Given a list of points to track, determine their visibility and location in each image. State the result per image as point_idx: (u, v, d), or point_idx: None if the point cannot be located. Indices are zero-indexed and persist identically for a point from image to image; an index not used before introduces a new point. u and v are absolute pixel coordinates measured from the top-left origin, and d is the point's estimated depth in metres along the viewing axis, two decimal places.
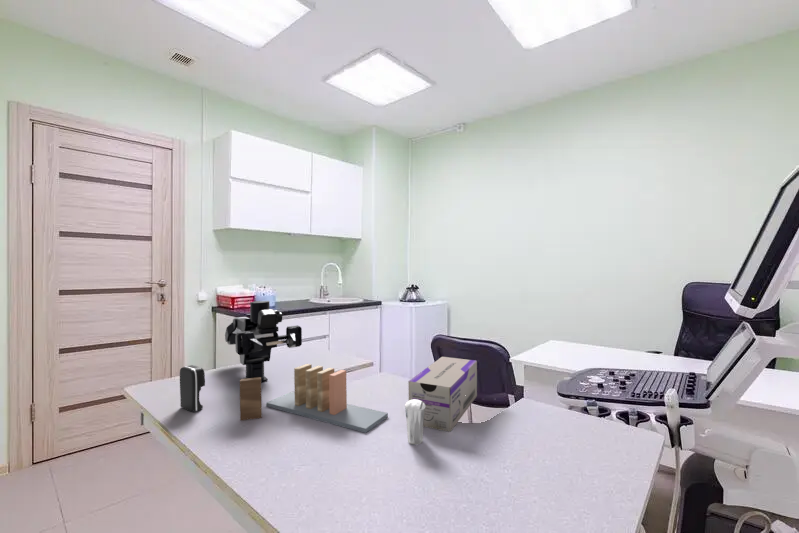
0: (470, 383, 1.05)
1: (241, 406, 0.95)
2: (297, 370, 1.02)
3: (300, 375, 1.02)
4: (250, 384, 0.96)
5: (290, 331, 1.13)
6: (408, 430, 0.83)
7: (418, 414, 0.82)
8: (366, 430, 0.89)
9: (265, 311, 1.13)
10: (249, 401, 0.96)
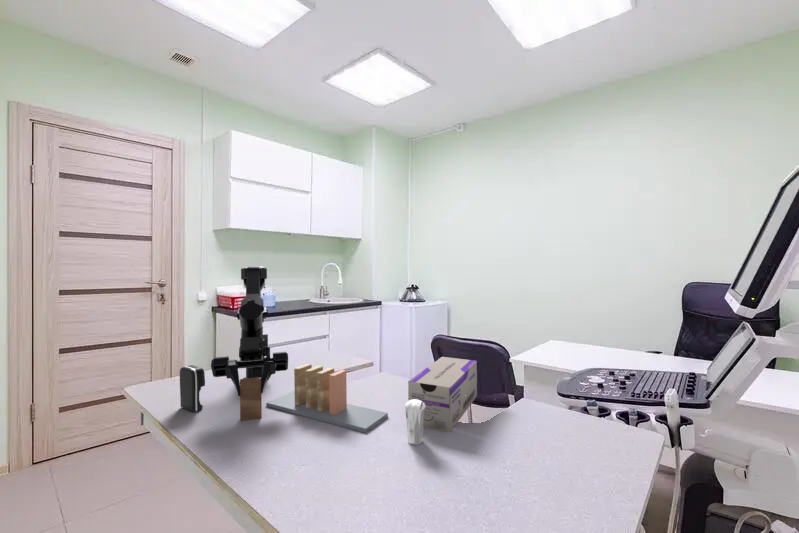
0: (470, 383, 1.05)
1: (241, 406, 0.95)
2: (297, 370, 1.02)
3: (300, 375, 1.02)
4: (250, 384, 0.96)
5: (264, 367, 0.99)
6: (408, 430, 0.83)
7: (418, 414, 0.82)
8: (366, 430, 0.89)
9: (246, 342, 0.96)
10: (249, 401, 0.96)
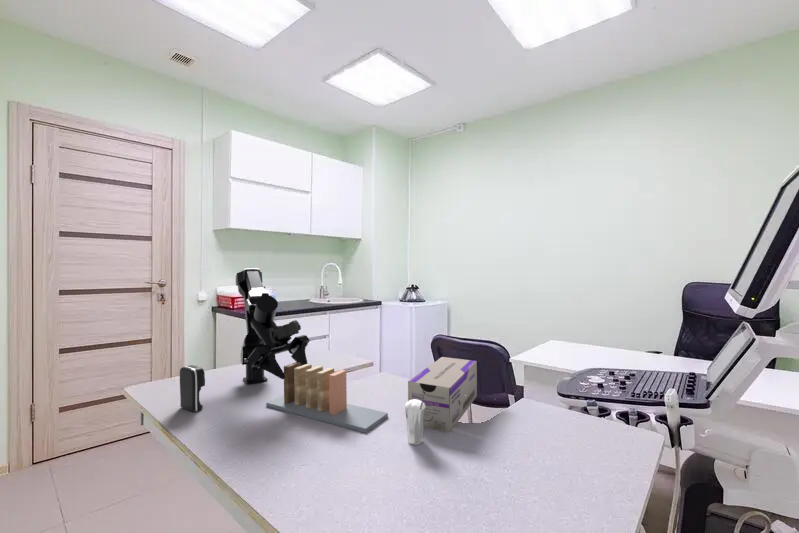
0: (470, 383, 1.04)
1: (289, 390, 1.04)
2: (297, 370, 1.02)
3: (300, 375, 1.02)
4: None
5: (302, 348, 1.11)
6: (408, 430, 0.83)
7: (418, 414, 0.82)
8: (366, 430, 0.89)
9: (290, 327, 1.05)
10: None
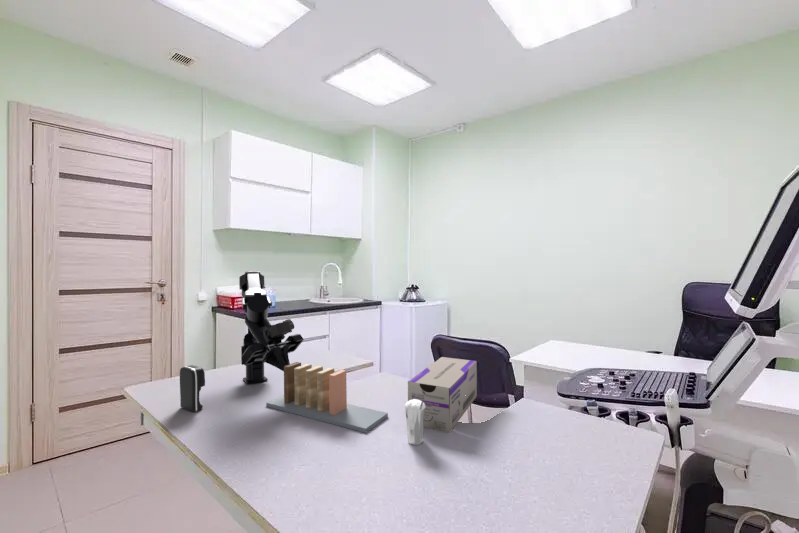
0: (470, 383, 1.04)
1: (289, 390, 1.04)
2: (297, 370, 1.02)
3: (300, 375, 1.02)
4: None
5: (284, 349, 1.08)
6: (408, 430, 0.83)
7: (418, 414, 0.82)
8: (366, 430, 0.89)
9: (283, 326, 1.06)
10: None
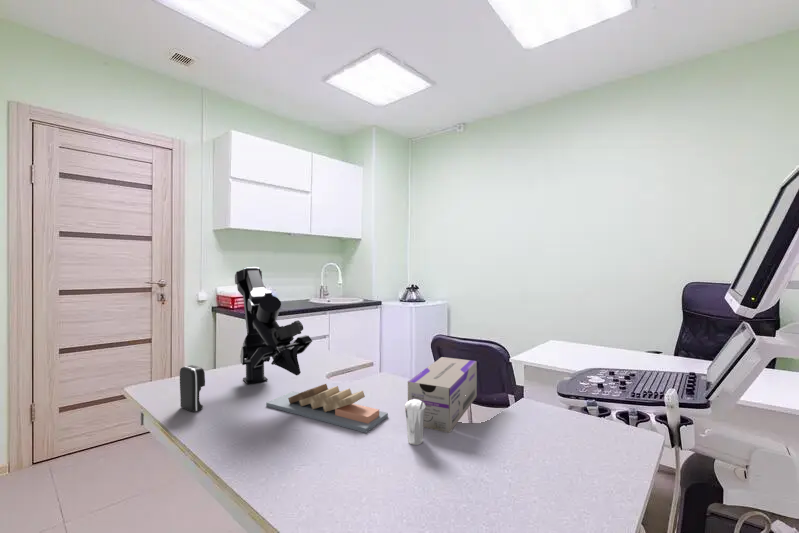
0: (470, 383, 1.04)
1: (299, 400, 1.02)
2: (325, 396, 0.97)
3: (323, 398, 0.98)
4: None
5: (293, 351, 1.07)
6: (408, 430, 0.83)
7: (418, 414, 0.82)
8: (366, 430, 0.89)
9: (292, 328, 1.05)
10: None
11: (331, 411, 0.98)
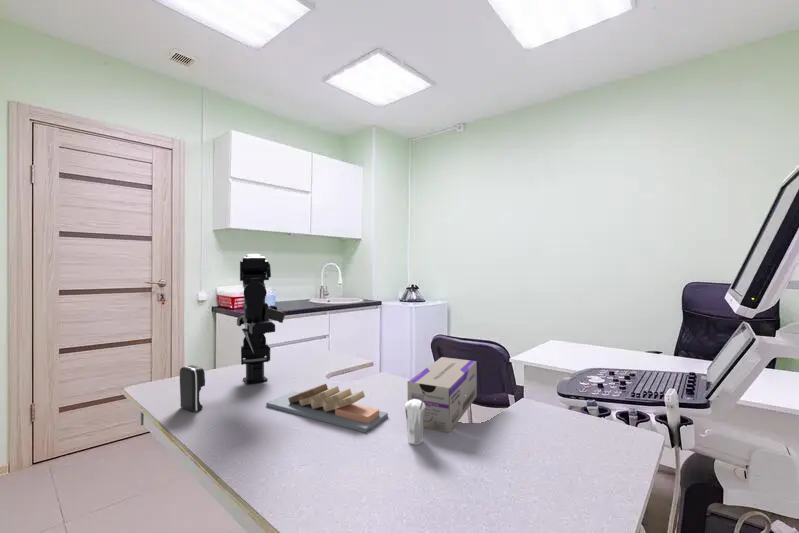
0: (470, 384, 1.04)
1: (299, 400, 1.02)
2: (325, 396, 0.97)
3: (323, 398, 0.98)
4: None
5: None
6: (408, 430, 0.83)
7: (418, 414, 0.82)
8: (366, 430, 0.89)
9: None
10: None
11: (331, 411, 0.98)
